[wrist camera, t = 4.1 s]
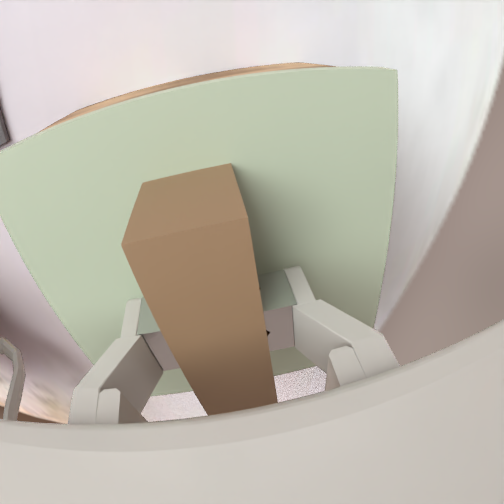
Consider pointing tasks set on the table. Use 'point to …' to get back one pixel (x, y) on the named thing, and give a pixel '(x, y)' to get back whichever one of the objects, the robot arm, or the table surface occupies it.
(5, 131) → the mat
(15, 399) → the mug
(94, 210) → the lid
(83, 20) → the table surface
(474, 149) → the table surface
